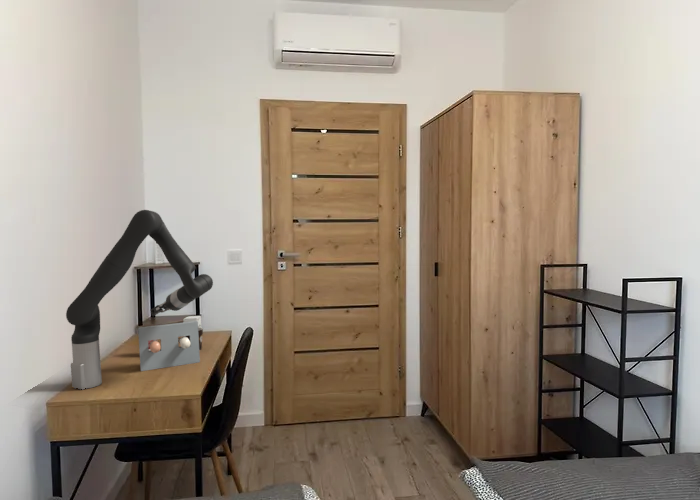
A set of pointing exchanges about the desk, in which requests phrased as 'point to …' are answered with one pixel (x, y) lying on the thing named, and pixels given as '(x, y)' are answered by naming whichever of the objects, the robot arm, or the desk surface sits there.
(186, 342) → the cream button
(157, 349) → the terracotta button
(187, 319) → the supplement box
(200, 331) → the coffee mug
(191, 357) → the panel
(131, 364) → the desk surface
